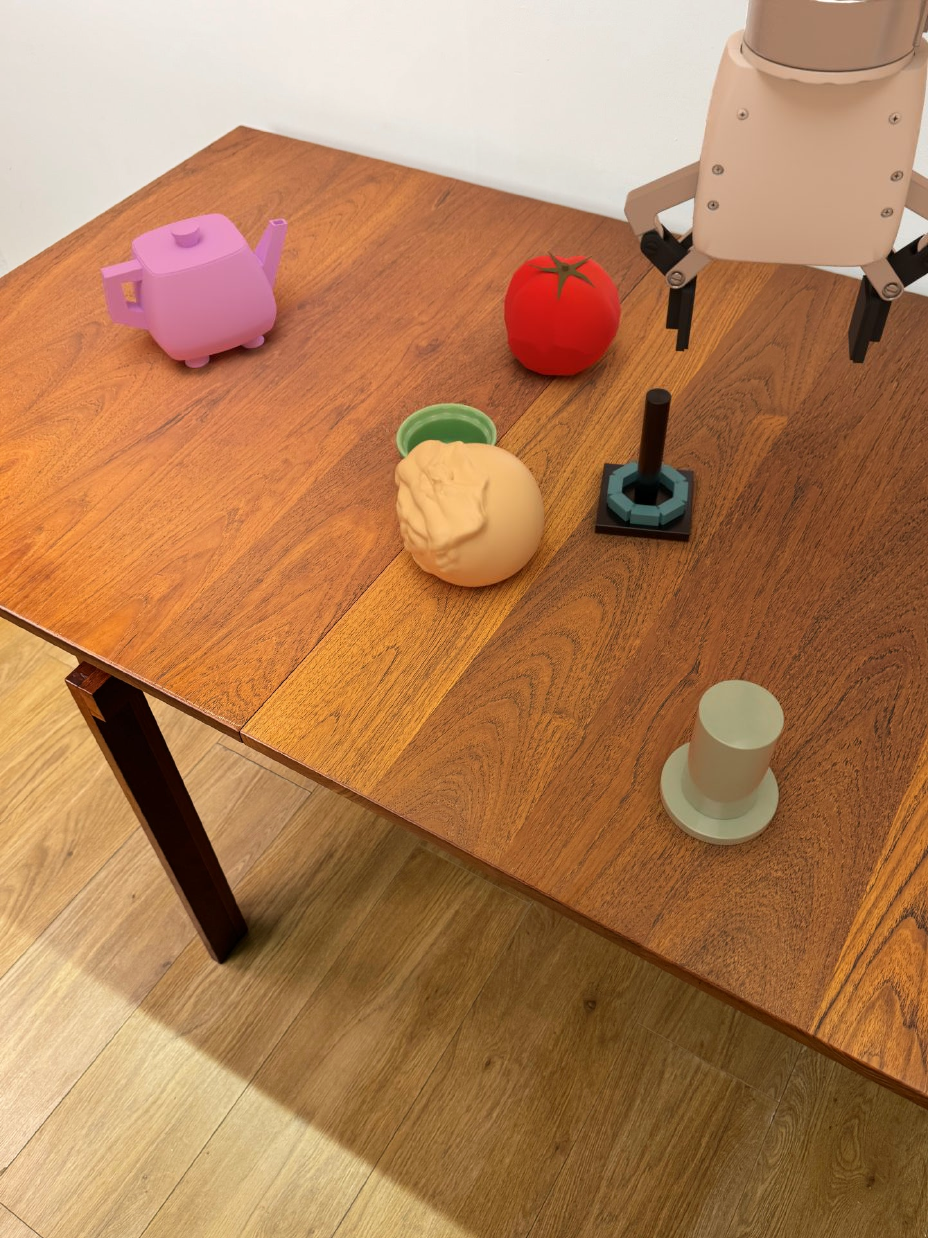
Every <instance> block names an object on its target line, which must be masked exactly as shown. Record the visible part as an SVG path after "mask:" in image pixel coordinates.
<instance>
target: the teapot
mask: <svg viewBox="0 0 928 1238" xmlns="http://www.w3.org/2000/svg"><path fill="white" fill-rule="evenodd" d="M288 228H289V223H288V222H287V220H286V219H285V218H276V219H270V220H268V224H267V227H266V228H265V230H264V232H263V234H262V236H261V238H260V239H259V242H258V243H257V245H256V247H255V249H254V251H253V250H252V248H251V247H250V244H249V243H248V242H247V241H246V239H245V237H244V236H243V235H242V234H241V232H240V231H239V229H238V228H237V226H236V225H235V224H234V223H233V222H232V221H231V220H230V219H229V217H228V216H226V215H223V213H208V214H203V215H198V216H194V217H189V218H186V219H180V220H178V221H174V222H171V223H169V224H166V225H162V226H160V227H157V228H155V229H152V230H149V231H146V232H144V233H142V234H140V235H139V236H137V237H136V238H134V239H133V241H132V242H131V251H130V260H127V261H124V262H120V263H116V264H112V265H109V266H105V267H101V268H100V274H101V280H102V285H103V293H104V297H105V303H106V308H107V314H108V316H109V318H110V320H111V322H112V324H113V323H114V324H117V325H118V324H119V325H123V326H126V327H131V328H137V329H141V330H146V331H147V332H148V333H149V334H150V336H151V337H152V339H153V340H154V341H155V342H156V344H157V345H158V346H159V347H160V348H161V349H162V351H164V352H165V354H167V355H168V356H169V357H170V358H171V359H173V360H176V361H184V364H185V366H186V367H188V368H193V369H194V368H197V369H198V368H201V367H204V366H205V365H207V364H208V363H209V361H210V356H211V355H215V354H219V353H222V352H225V351H229V350H231V349H234V348H236V347H239V346H242V347H243V348H245V349H255V348H258V347H261V346H262V345H263V344H264V342H265V337H264V336H263V335H265V334H266V333H268V332H269V331H271V330H272V329H273V327H274V324H275V322H276V318H277V311H278V310H277V303H276V299H275V296H274V292H273V290H274V286H275V283H276V278H277V274H278V271H279V266H280V262H281V259H282V258H281V257H282V253H283V249H284V246H285V245H284V244H285V241H286V236H287V233H288ZM126 283H131V285H132V289H133V291H132V292H133V295H134V300H135V301H129V300H126V296H125V292H124V289H123V285H122V284H126Z"/></svg>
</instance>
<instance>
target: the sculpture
mask: <svg viewBox="0 0 928 1238" xmlns="http://www.w3.org/2000/svg"><path fill="white" fill-rule="evenodd" d="M394 483H395V485H396V487H397V490H398V492H397V496H396V497H397V500H396V502H395V510H396V514H397V519H398V523H399V526H400V527H399V532H400V536H401V537H402V538H403V539H404V541H403V548H404V550H405V551H407V552H409V553H410V554H411V558H412V559H413V561H414V562H415V563H416V565H418V567H420V569H421V570H422V571H423V572H425V573H426V574H427V573H428V574H432V575H434V576H436V577H437V578H438V579H440V580H442V581H444V582H446V583H449V584H452V585H455V586H459V587H460V586H461V587H468V588H469V587H470V588H478V587H485V586H490V585H494V584H497V583H500V582H502V581H504V580H506V579H508V578H510V577H512V576H514V575H515V574H516V573H518V572H519V571H521V569H523V568H524V567H525V566H526V565H527V564H528V563H529V561H530V560H531V559H532V558H533V556H534V555H535V553H536V552H537V550H538V548H539V546H540V543H541V542H542V541H541V540H542V537H543V534H544V531H545V530H544V529H545V505H544V501H543V500H544V499H543V496H542V493H541V490H540V487H539V485H538V483H537V481H536V479H535V477H534V475H533V473H532V472H531V470H530V469H529V468H528V467H527V466H526V464H524V463H523V462H522V460H520V458H518V457H517V456H515V454H513V453H512V452H509V451H508V450H506V449H504V448H502V447H500V446H496V445H495V446H493V445H489V444H482V443H467V444H464V443H463V442H461V441H456V442H453V443H448V444H445V443H442V442H441V441H439V440H427V441H424V442H422V443H420V444H419V445H417V446H416V447H415V448H414V449H413V450H412V451H411V452H410V453H409V454H408V456H407V457H406V458H404V459H403V460H402V459H401V460H400V461H399V462H398V464H397V465H396V467H395V471H394Z"/></svg>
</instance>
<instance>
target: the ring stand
mask: <svg viewBox="0 0 928 1238" xmlns="http://www.w3.org/2000/svg"><path fill="white" fill-rule="evenodd" d="M784 726H785V715H784V711H783V708H782V705H781V704H780V702H779V701H778V699H777V698H776V696H774V695H773V694H772V693H771V692H770V691H769V690H768V689H766V688H764V686H761V685H759V684H756V683H755V682H752V681H749V680H742V679H730V680H729V679H728V680H724V681H720V682H718V683H716V684H714V685H712V686H711V687H709V688H708V689H707V690H706V691H705V692H704V693H703V695H702V696H701V698H700V700H699V703H698V707H697V711H696V715H695V720H694V724H693V728H692V733H691V737H690V741H688V742H686V743H683V744H682V745H680V746H679V747H677V748H676V749H675V750H673V752H672V753H671V754H670V755H669V756H668V758H667V759H666V760H665V763H664V765H663V766H662V771H661V773H660V774H661V775H660V778H659V779H660V780H659V797H660V801H661V804H662V806H663V809H664V811H665V813H666V814H667V816H668V817H669V819H670V820H671V821H672V822H673V823H674V825H676V827H678V828H679V829H680V830H681V831H682V832H684V833H685V834H687V835H689V836H690V837H692V838H694V839H696V840H697V841H701V842H702V843H703V842H704V843H707V844H711V845H716V846H733V845H740V844H744V843H746V842H750V841H751V840H754V839H755V838H757V837H758V836H760V835H761V834H762V833H763V832H765V830H766V829H767V828H768V827H769V826H770V824H771V822H772V821H773V819H774V816H775V813H776V811H777V809H778V804H779V796H780V793H779V786H778V782H777V779H776V777H775V774H774V772H773V771H772V768H771V767H770V765H771V762H772V759H773V757H774V754H775V751H776V748H777V746H778V743H779V740H780V737H781V734H782V732H783V730H784V729H783V728H784Z"/></svg>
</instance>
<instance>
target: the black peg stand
mask: <svg viewBox="0 0 928 1238" xmlns="http://www.w3.org/2000/svg"><path fill="white" fill-rule="evenodd" d="M671 403H672V394H671V392H670V391H669V390H667V389H665V388H661V387H655V388H651V389H649V390H648V391H647V392H646V394H645V398H644V410H643V416H642V425H641V434H640V442H639V450H638V451H639V452H638V460H637V461H638V467H637V476H636V480H635V481H634V482H632V483H630V484H628V485H626V486H624V487H623V488H622V494H624V495H625V496H626V497H627V498H628V499H629V500H631V501H632V502H633V503H634V504H637V505H647V506H659V505H661V504H662V503H664V502H666V501H668V500H670V499H671V498H672V497H673V492H672V491H671V490H669V489H668V488H667V487H666V486H665V485H663V484H662V483H661V482H660V475H661V468H662V463H663V459H664V454H665V446H666V439H667V431H668V424H669V419H670V418H669V417H670V411H671ZM625 465H626V464H622V463H621V464H620V463H609V462H604V463H603V469H602V476H601V483H600V488H599V489H600V490H599V497H598V505H597V512H596V518H595V524H594V533H595V534H602V535H603V534H604V535H614V536H623V537H624V536H625V537H633V538H634V537H635V538H645V539H657V540H666V541H675V542H686V543H688V542H690V536H691V526H692V508H693V493H694V492H693V490H694V474H695V471H694V470H689V469H679V468H678V469H677V468H674V469H675V470H676V471H677V472H679V473H680V474H681V475H683V476H684V477H685V478H686V479H687V480H686V482H688V497H687V505H686V510H684V513H683V514H681V515H680V516H678V517H676V518H674V519H673V520H671V521H669V522H667V523H666V524H664V525H662V524H661V523H659V524H658V526H652V525H642V524H632V523H630V519H629V520H628V521H625V520H624V519H622V518H621V517H620V516H619V515H618V514H617V513H615V512H614V511H613V510H612V509H611V508H610V507H609V506H608V503H607V492H608V485H609V478H610V475H612V472H614V471H615V470H617V469H619V468H621V467H623V466H625Z"/></svg>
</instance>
